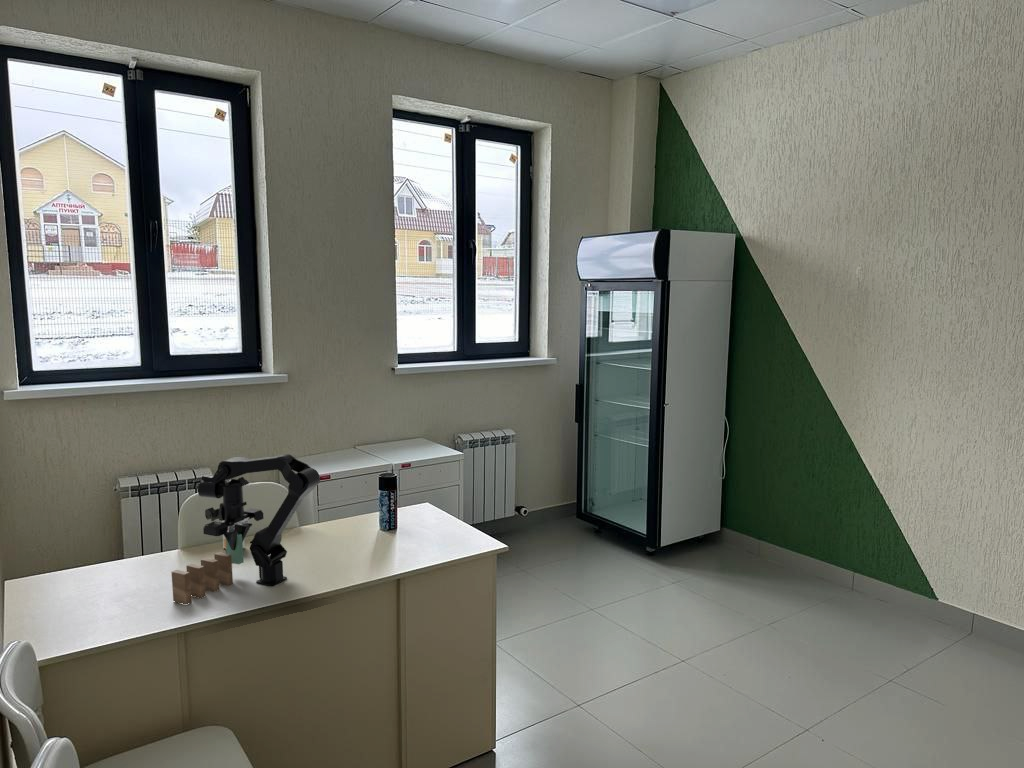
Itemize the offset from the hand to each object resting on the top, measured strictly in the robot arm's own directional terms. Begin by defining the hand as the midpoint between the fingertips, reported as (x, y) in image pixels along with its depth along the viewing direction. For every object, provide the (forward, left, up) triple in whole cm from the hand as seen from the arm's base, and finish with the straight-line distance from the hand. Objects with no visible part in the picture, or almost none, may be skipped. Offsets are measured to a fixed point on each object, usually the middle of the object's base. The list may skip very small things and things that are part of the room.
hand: (235, 548), depth 215 cm
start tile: (+1, 0, -4) cm, 4 cm away
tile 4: (0, +15, -9) cm, 17 cm away
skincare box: (+20, -18, -9) cm, 28 cm away
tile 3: (0, +10, -9) cm, 13 cm away
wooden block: (0, +5, -9) cm, 10 cm away
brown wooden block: (0, +20, -9) cm, 22 cm away
